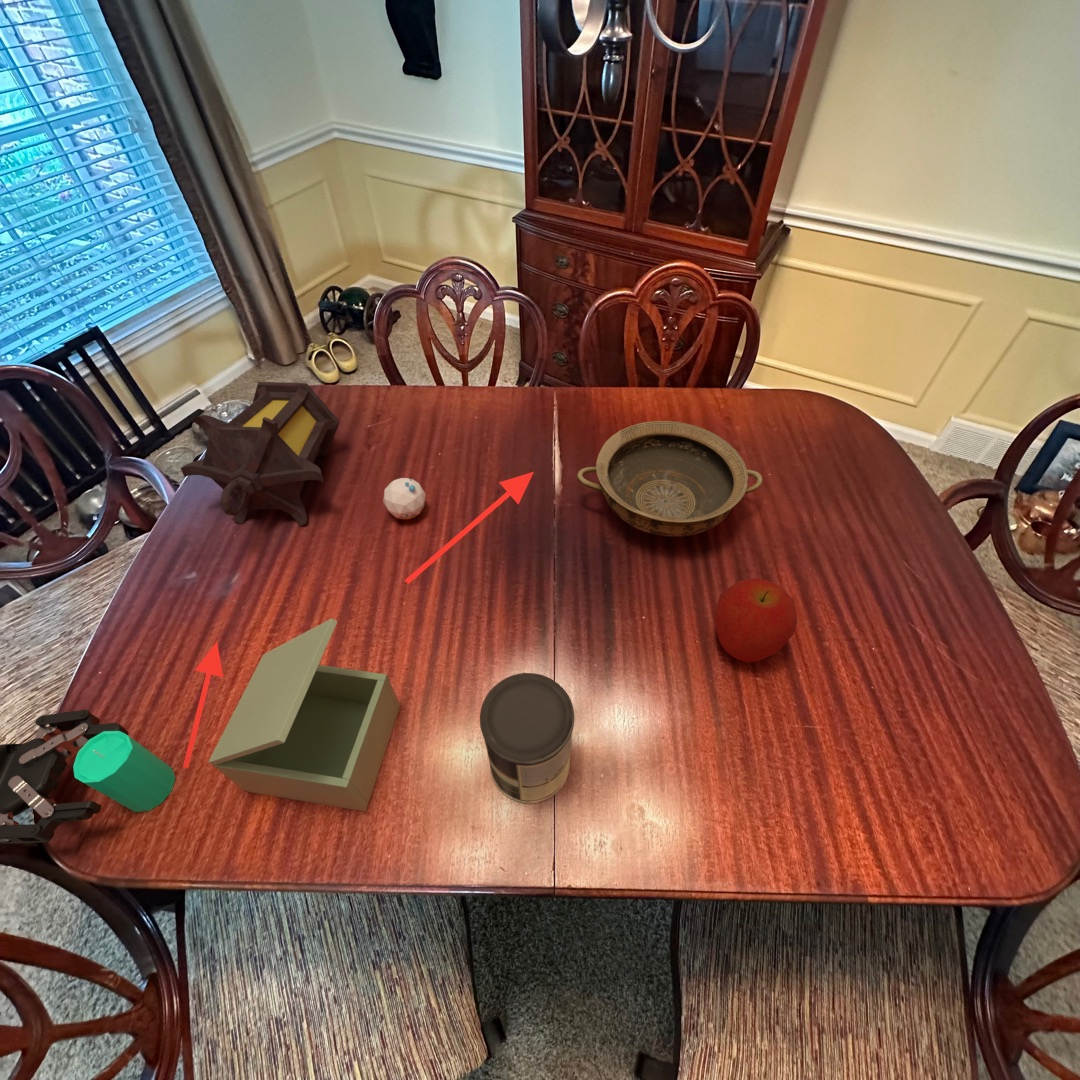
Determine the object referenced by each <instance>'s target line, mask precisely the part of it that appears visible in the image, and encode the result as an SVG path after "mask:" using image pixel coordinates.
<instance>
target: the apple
mask: <svg viewBox="0 0 1080 1080" xmlns="http://www.w3.org/2000/svg"><path fill="white" fill-rule="evenodd" d="M713 620H714V624H715V625H714V626H715V630H716V635H717V639H718V643H719V644H720V645H721V646H722V648H723V650H724V651H725V652H727V654H729V655H730V656H731V657H732V658H734V659H736V660H738V661H741V662H743V663H744V662H745V663H756V662H759V661H762V660H763V659H766V658H768V657H771V656H773V655H774V654H776V653H777V652H778V651H780V650H781V649H782V648H783V647H784V646H785V645H786V644H787V642H789V640H790V639H791V638H792V637H793V636H794V634H795V631H796V629H797V625H798V616H797V609H796V605H795V601H794V599H793V598H792V596H791V595H790V594H789V593H788V592H787V590H786V589H784V588H783V587H781V586H779V585H778V584H777V583H775V582H773V581H769V580H766V579H762V578H745V579H742V580H738V581H736V582H735V583H733V584H732V585H731V586H729V587H728V588H727V589H726V590H724V591H723V592H722V593H720V595H719V596H718V600H717V603H716V606H715V612H714V619H713Z"/></svg>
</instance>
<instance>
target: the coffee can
mask: <svg viewBox="0 0 1080 1080" xmlns="http://www.w3.org/2000/svg"><path fill="white" fill-rule="evenodd" d="M575 717H576V716H575V709H574V705H573V702H572V699H571V697H570V696H569V694H568V693H567V691H566V690H565V689H564V688H563V687H562V686H561V685H560V684H559V683H558V682H557V681H555V680H554V679H552V678H551V677H549V676H546V675H544V674H541V673H540V674H539V673H534V672H522V673H516V674H512V675H510V676H508V677H505V678H503V679H502V680H501V681H499V682H497V684H495V685H494V686H492V688H491V689H490V690H489V692H488V693H487V695H486V696H485V697H484V700H483V702H482V704H481V707H480V713H479V725H480V726H479V727H480V731H481V734H482V737H483V739H484V743H485V744H484V745H485V749H486V752H487V753H486V754H487V757H488V761H489V768H490V775H491V778H492V780H493V782H494V784H495V786H496V787H497V789H498V790H499V791H500V793H502V794H503V795H504V796H506V797H507V798H508V799H511V800H512V801H515V802H517V803H520V804H538V803H541V802H545V801H547V800H549V799H550V798H552V797H554V796H555V795H557V793H558V792H559V791H560V790H561V789H562V788H563V787H564V785H565V784H566V781H567V779H568V777H569V774H570V770H571V752H572V751H571V750H572V740H573V739H572V737H573V731H574V727H575V719H576V718H575Z"/></svg>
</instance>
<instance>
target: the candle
mask: <svg viewBox="0 0 1080 1080" xmlns="http://www.w3.org/2000/svg"><path fill="white" fill-rule="evenodd" d="M72 768H73V775H74V778H75V779H76V780H78V781H80V782H81V783H83V784H85V785H86V786H89V787H90V788H92V789H94V790H95V791H97V792H98V793H101V794H102V795H104V796H106V797H108V798H109V799H111V800H113V801H114V802H117V803H118V804H120V805H122V806H123V807H125V808H127V809H129V810H130V811H132V812H134V813H141V812H142V813H143V812H149V811H151V810H152V809H154V808H156V807H158V806H159V805H161V804H162V803H164V801H165V800H166V799H167V797H168V796H169V795H170V794H171V792H172V791H173V788H174V784H175V781H176V776H175V773H174V770H173V768H172V767H171V766H170V765H169V764H167V763H166V762H165V761H164V760H162V759H160V758H159V757H158V756H156V755H155V754H154V753H152V752H151V751H150V750H149V749H147V748H146V747H145V746H143V745H142V744H141V743H139V742H138V741H136V740H135V739H134V738H133V737H131V736H129V734H128V735H126V734H124V733H122V732H120V731H104V732H102V733H100V734H98V735H97V736H95V737H93V738H91V739H90V740H89V741H88V742H87V743H86V744H85V745H84V746H83V747H82V748H81V749H80V750H79V752H78V754H77V755H76V757H75V760H74V763H73V766H72Z"/></svg>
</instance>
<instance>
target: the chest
mask: <svg viewBox="0 0 1080 1080" xmlns="http://www.w3.org/2000/svg"><path fill="white" fill-rule="evenodd" d="M400 708H401V703H400V702H399V699H398V697H397V695H396V692H395V690H394V688H393V686H392V684H391V680H390V678H389V676H388V674H386V673H379V672H372V671H366V670H365V671H364V670H359V669H351V668H345V667H337V666H330V665H323V664H319V665H318V667H317V670H316V672H315V674H314V677H313V679H312V681H311V683H310V686H309V688H308V690H307V692H306V695H305V697H304V699H303V702H302V704H301V706H300V708H299V711H298V713H297V715H296V717H295V720H294V722H293V724H292V727H291V729H290V731H289V733H288V736H287V738H286V740H285V742H284V743H282V744H279V745H276V746H273V747H270V748H266V749H263V750H260V751H257V752H254V753H251V754H248V755H244V756H241V757H238V758H235V759H232V760H229V761H225V762H222V763H219V764H216V765H213V764H212V766H213V767H214V768H216V769H217V770H218V771H219V772H220V773H221V774H223V775H224V776H225V777H226V778H228V779H229V780H230V781H231V782H232V783H234V784H235V785H236V786H237V787H238V788H239V789H240V790H242V791H243V792H245V793H252V794H258V795H262V796H263V795H264V796H270V797H276V798H281V799H282V798H283V799H286V800H288V799H289V800H292V801H300V802H306V803H311V804H317V805H323V806H329V807H335V808H341V809H346V810H352V811H358V812H364V813H365V812H367V810H368V806H369V803H370V800H371V796H372V794H373V791H374V788H375V784H376V782H377V778H378V775H379V773H380V769H381V766H382V764H383V760H384V757H385V754H386V751H387V747H388V745H389V742H390V740H391V739H390V738H391V735H392V732H393V729H394V726H395V723H396V720H397V718H398V714H399V711H400Z"/></svg>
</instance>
